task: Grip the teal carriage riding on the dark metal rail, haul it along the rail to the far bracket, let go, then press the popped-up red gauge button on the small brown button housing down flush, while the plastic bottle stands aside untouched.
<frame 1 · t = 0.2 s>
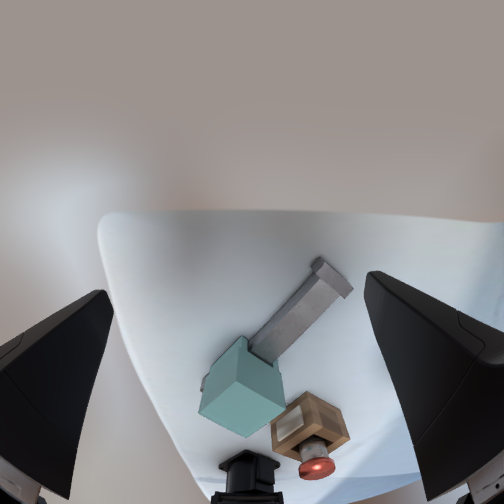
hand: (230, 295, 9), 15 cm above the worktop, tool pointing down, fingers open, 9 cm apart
brown button housing: (305, 415, 29), on the worktop
gauge button: (313, 452, 23), point 6 cm above the worktop, slide at 0.0 cm
rail: (270, 336, 26), on the worktop
carriage: (242, 385, 23), point 4 cm above the worktop, slide at 0.0 cm
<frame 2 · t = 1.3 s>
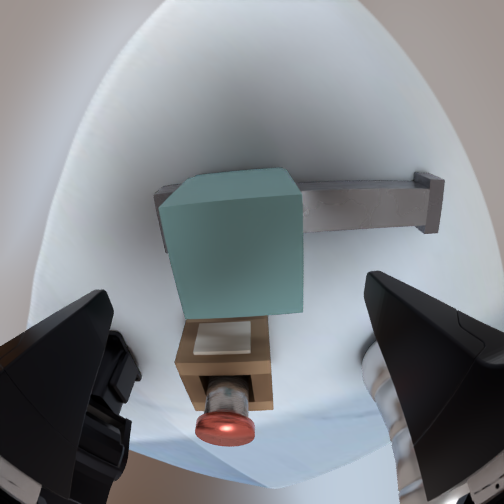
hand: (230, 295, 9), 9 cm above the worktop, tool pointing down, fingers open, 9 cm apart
brown button housing: (231, 340, 22), on the worktop
gauge button: (227, 401, 17), point 6 cm above the worktop, slide at 0.0 cm
rail: (308, 201, 17), on the worktop
plastic bottle: (387, 345, 23), on the worktop
carriage: (240, 229, 14), point 4 cm above the worktop, slide at 0.0 cm
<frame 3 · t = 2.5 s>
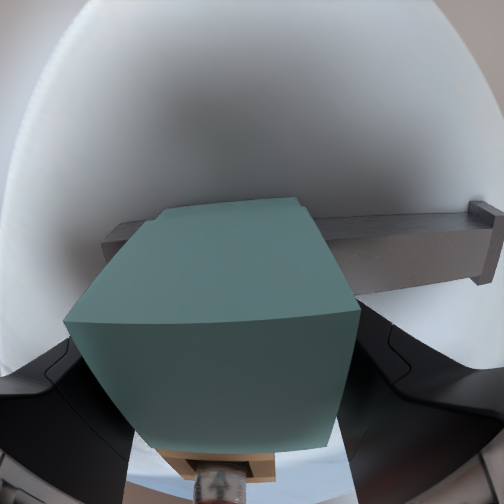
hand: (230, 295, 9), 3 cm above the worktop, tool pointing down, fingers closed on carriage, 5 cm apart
brown button housing: (225, 403, 17), on the worktop
gauge button: (220, 483, 11), point 6 cm above the worktop, slide at 0.0 cm
rail: (331, 245, 11), on the worktop
carriage: (229, 310, 8), point 4 cm above the worktop, slide at 0.0 cm, touching gripper
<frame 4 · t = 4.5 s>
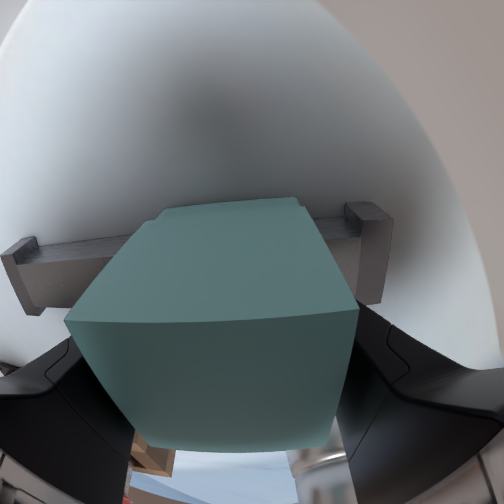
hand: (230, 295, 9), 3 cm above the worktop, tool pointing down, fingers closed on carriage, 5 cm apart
brown button housing: (131, 398, 17), on the worktop
gauge button: (110, 466, 12), point 6 cm above the worktop, slide at 0.0 cm
rail: (167, 257, 12), on the worktop
plastic bottle: (326, 413, 18), on the worktop
carriage: (228, 309, 8), point 4 cm above the worktop, slide at 6.9 cm, touching gripper
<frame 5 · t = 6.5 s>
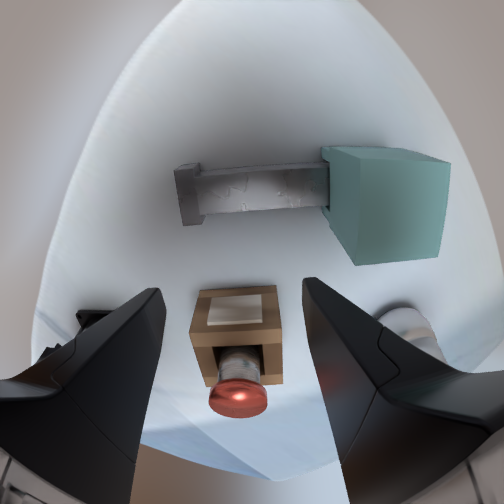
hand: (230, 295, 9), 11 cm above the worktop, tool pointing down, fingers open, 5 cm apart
brown button housing: (241, 317, 23), on the worktop
gauge button: (239, 372, 18), point 6 cm above the worktop, slide at 0.0 cm
rail: (314, 180, 18), on the worktop
plastic bottle: (390, 324, 24), on the worktop
carriage: (377, 193, 15), point 4 cm above the worktop, slide at 7.0 cm
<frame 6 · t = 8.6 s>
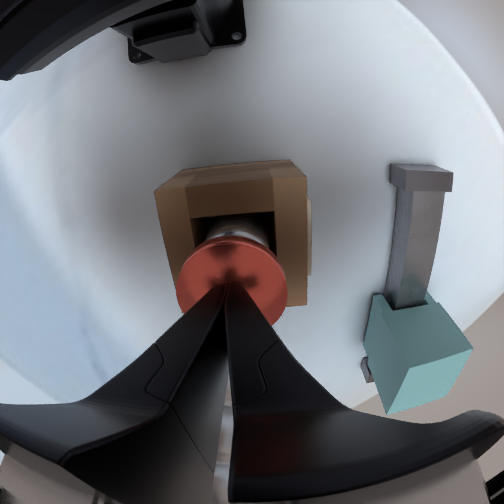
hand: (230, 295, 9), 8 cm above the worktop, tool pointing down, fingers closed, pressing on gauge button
brown button housing: (240, 214, 16), on the worktop
gauge button: (235, 257, 11), point 5 cm above the worktop, slide at 0.5 cm, touching gripper
rail: (399, 284, 19), on the worktop
plastic bottle: (223, 373, 23), on the worktop
carriage: (411, 348, 16), point 4 cm above the worktop, slide at 7.0 cm
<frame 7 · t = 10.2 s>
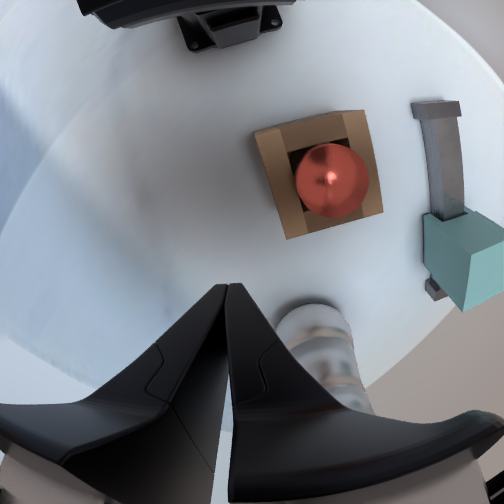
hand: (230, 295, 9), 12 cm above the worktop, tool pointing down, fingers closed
brown button housing: (307, 160, 19), on the worktop
gauge button: (321, 171, 15), point 4 cm above the worktop, slide at 2.0 cm
rail: (441, 203, 20), on the worktop
plastic bottle: (308, 320, 25), on the worktop
carriage: (465, 252, 18), point 4 cm above the worktop, slide at 7.0 cm
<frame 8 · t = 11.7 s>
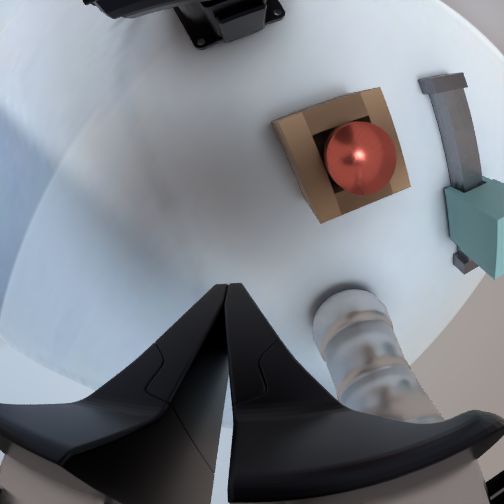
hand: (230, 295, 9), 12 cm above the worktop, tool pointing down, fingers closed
brown button housing: (328, 145, 18), on the worktop
gauge button: (346, 152, 14), point 4 cm above the worktop, slide at 2.0 cm
rail: (459, 175, 18), on the worktop
plastic bottle: (343, 308, 24), on the worktop
carriage: (489, 221, 16), point 4 cm above the worktop, slide at 7.0 cm
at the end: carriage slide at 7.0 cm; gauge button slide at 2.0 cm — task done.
